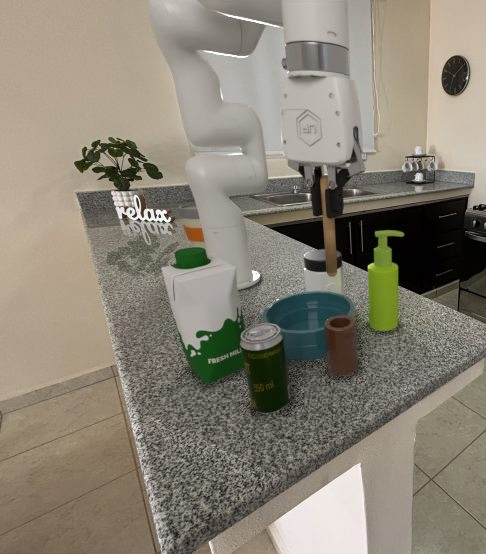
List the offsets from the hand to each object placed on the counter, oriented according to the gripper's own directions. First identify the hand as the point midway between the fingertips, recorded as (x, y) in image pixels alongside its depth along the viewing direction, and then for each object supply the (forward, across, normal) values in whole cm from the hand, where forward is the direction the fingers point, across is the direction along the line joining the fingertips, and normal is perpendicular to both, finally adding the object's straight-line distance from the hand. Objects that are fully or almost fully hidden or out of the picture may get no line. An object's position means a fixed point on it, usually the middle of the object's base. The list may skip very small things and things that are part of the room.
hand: (328, 214), depth 50 cm
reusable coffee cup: (+27, -71, +33) cm, 83 cm away
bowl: (+26, -9, +5) cm, 28 cm away
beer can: (+26, -3, -12) cm, 29 cm away
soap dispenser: (+26, +2, +15) cm, 30 cm away
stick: (+10, 0, 0) cm, 10 cm away
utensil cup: (+26, +2, -1) cm, 26 cm away
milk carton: (+26, -17, -9) cm, 33 cm away
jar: (+26, -15, +18) cm, 36 cm away
